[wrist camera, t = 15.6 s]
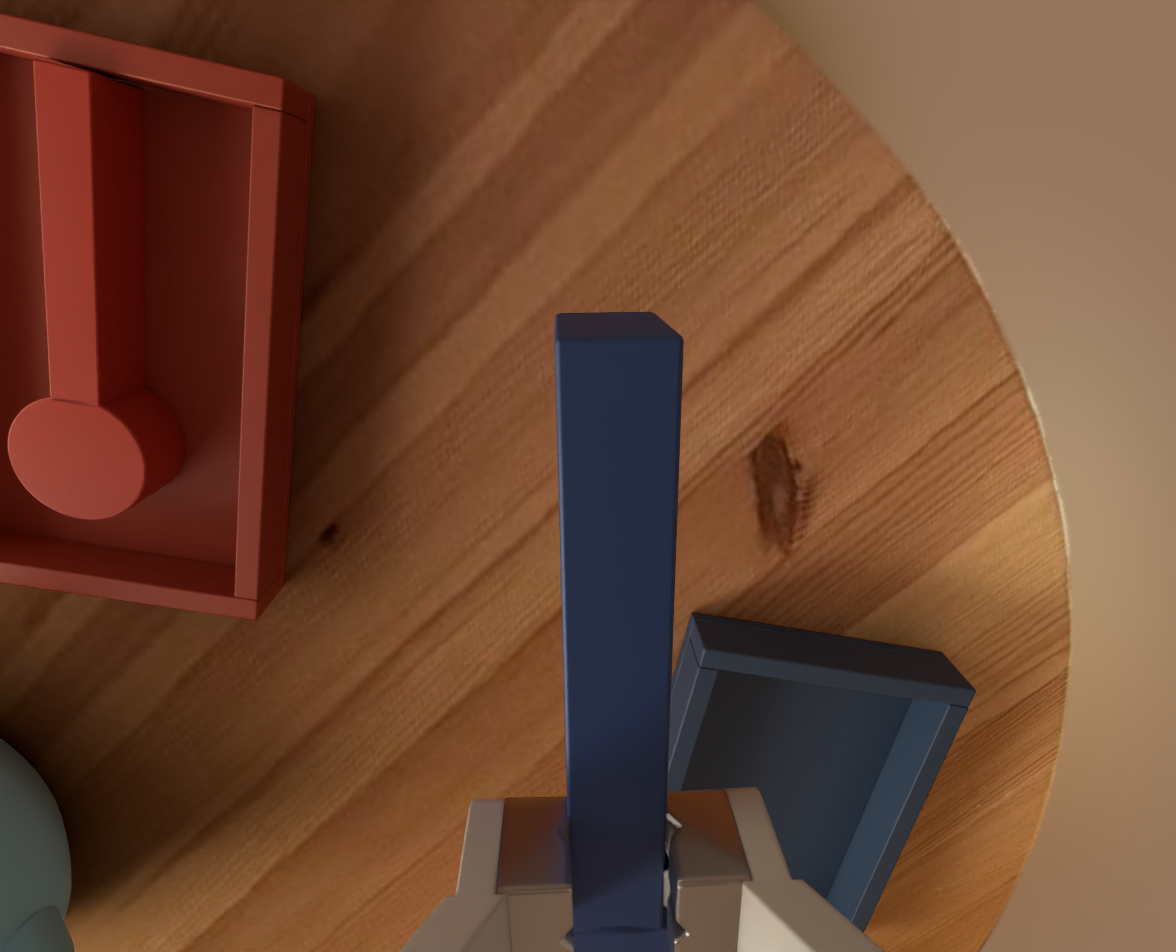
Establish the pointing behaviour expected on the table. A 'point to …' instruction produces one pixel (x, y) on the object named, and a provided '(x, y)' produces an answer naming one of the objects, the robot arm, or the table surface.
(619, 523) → the blue spoon
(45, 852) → the teapot
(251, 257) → the red tray
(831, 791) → the blue tray
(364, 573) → the table surface
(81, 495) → the red spoon
